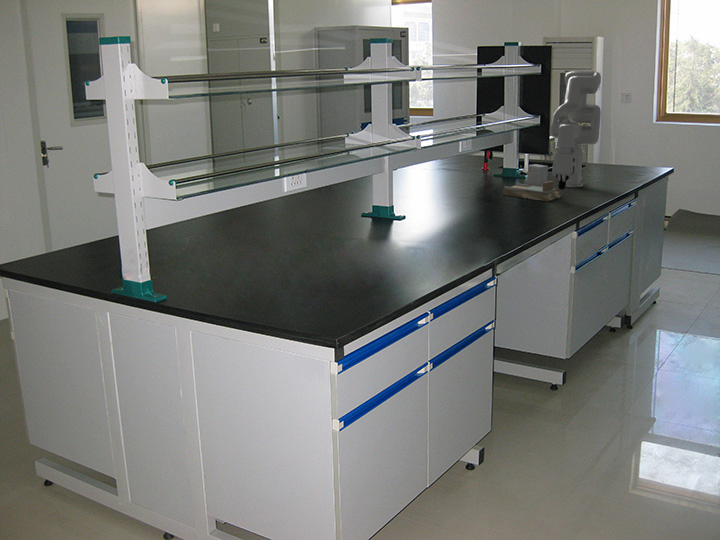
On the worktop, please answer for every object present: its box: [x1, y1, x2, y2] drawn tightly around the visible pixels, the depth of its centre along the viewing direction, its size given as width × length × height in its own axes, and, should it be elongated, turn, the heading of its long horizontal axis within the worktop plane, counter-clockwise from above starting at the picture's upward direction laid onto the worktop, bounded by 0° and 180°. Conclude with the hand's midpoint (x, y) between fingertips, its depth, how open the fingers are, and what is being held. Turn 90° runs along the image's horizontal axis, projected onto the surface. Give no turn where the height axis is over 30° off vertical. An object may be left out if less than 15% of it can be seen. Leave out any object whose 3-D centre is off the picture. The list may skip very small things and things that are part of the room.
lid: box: [524, 180, 556, 193], centre depth 369 cm, size 10×12×5 cm
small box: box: [526, 163, 549, 187], centre depth 384 cm, size 8×6×13 cm
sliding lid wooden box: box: [502, 183, 562, 202], centre depth 372 cm, size 14×24×4 cm, turn 49°
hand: (561, 189), depth 361 cm, fingers closed
